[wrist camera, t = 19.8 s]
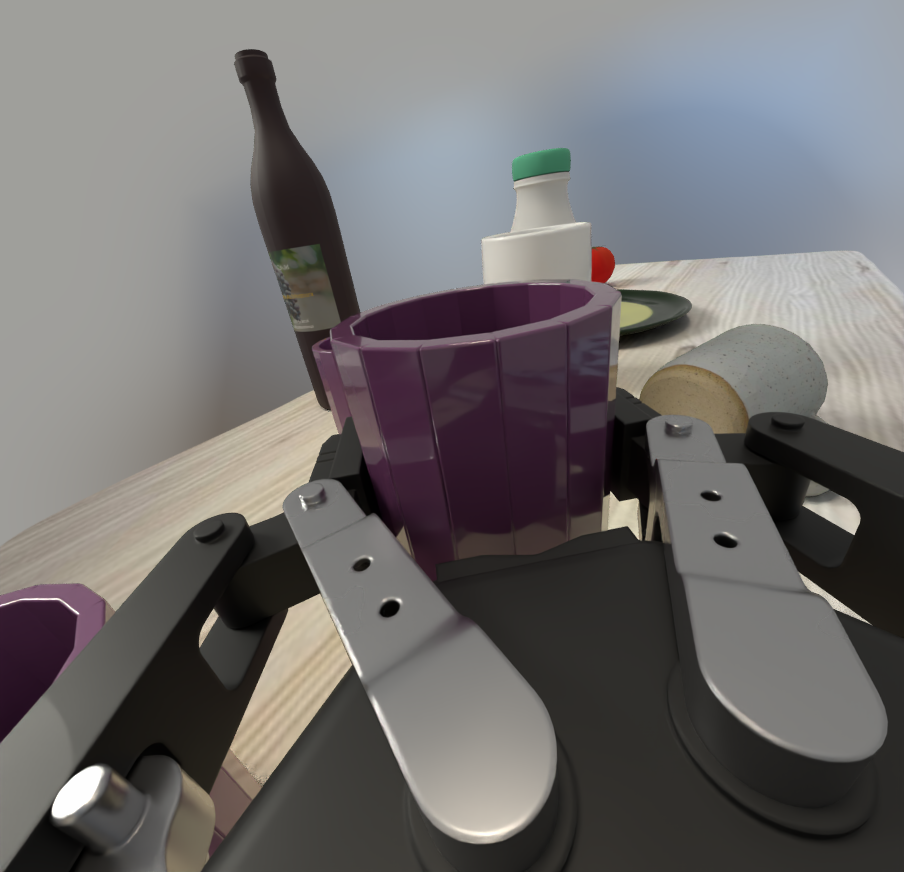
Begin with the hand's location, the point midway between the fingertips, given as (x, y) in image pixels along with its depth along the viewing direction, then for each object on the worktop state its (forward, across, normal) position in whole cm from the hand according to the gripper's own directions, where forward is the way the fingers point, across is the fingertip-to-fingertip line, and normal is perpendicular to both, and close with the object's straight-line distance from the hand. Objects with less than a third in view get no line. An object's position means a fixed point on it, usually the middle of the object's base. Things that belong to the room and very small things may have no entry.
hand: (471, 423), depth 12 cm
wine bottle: (+33, +10, +10) cm, 36 cm away
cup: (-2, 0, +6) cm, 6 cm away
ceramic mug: (+9, -18, +11) cm, 23 cm away
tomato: (+73, -36, +10) cm, 82 cm away
